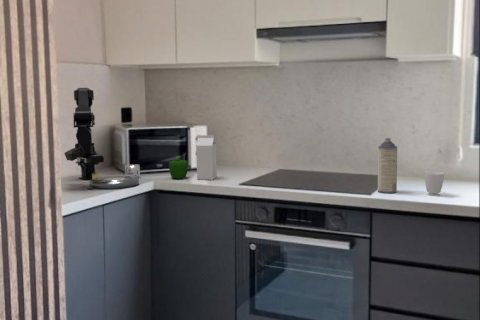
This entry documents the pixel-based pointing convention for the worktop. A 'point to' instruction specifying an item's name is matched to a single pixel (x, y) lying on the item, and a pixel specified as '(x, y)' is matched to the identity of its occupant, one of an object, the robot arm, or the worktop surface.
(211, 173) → the milk carton
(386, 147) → the aerosol can
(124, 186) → the turntable
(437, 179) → the cup
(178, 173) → the bell pepper
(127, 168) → the cover
